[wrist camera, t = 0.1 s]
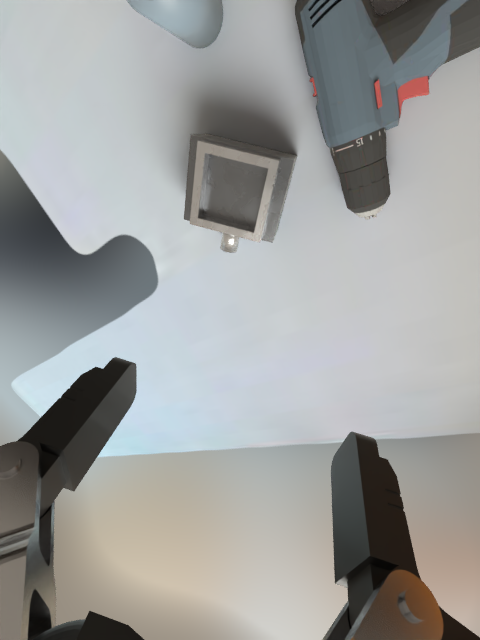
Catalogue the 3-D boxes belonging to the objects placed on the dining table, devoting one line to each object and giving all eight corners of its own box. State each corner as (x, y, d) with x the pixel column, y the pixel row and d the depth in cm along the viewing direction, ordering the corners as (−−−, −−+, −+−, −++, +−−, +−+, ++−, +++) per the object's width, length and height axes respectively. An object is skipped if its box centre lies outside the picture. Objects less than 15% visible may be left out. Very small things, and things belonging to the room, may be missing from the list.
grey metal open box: (206, 133, 32) (185, 135, 27) (297, 155, 32) (293, 161, 26) (196, 232, 39) (176, 249, 33) (271, 252, 38) (263, 273, 33)
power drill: (569, 146, 27) (341, 220, 35) (602, -170, 19) (294, 15, 26) (618, 150, 23) (344, 233, 30) (687, -259, 15) (289, -7, 22)
